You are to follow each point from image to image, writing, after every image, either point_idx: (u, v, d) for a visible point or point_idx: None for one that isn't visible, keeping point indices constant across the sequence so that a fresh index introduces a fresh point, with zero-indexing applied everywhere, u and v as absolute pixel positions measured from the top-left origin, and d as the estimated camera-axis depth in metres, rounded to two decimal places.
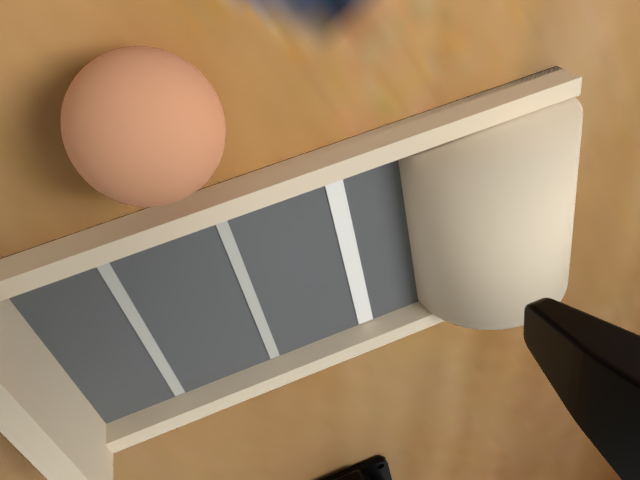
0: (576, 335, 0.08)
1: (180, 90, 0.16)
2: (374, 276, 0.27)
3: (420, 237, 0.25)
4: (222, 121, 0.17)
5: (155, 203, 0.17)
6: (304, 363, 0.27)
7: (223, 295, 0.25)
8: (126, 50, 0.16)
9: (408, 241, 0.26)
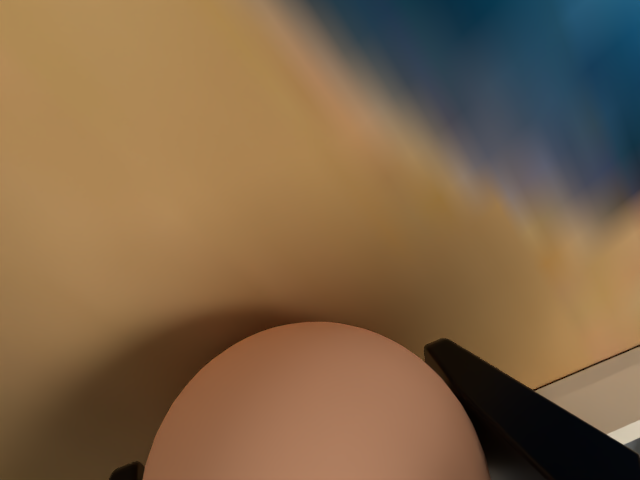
0: (462, 382, 0.08)
1: None
2: None
3: None
4: None
5: None
6: None
7: None
8: (307, 385, 0.07)
9: None
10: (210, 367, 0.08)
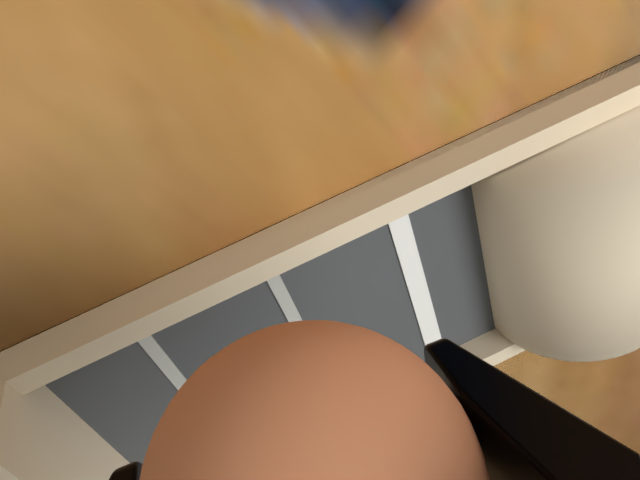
0: (463, 382, 0.08)
1: None
2: (446, 307, 0.23)
3: (500, 264, 0.21)
4: None
5: None
6: None
7: None
8: (304, 383, 0.06)
9: (483, 266, 0.23)
10: (207, 366, 0.08)
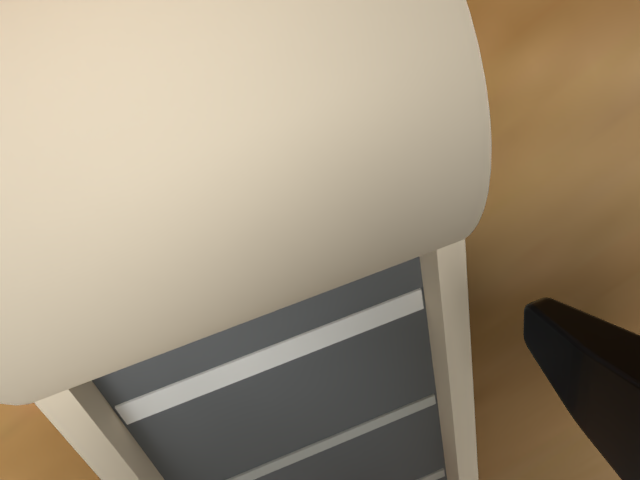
0: (576, 335, 0.08)
1: None
2: (331, 306, 0.15)
3: None
4: None
5: None
6: (449, 399, 0.18)
7: (312, 468, 0.19)
8: None
9: None
10: None
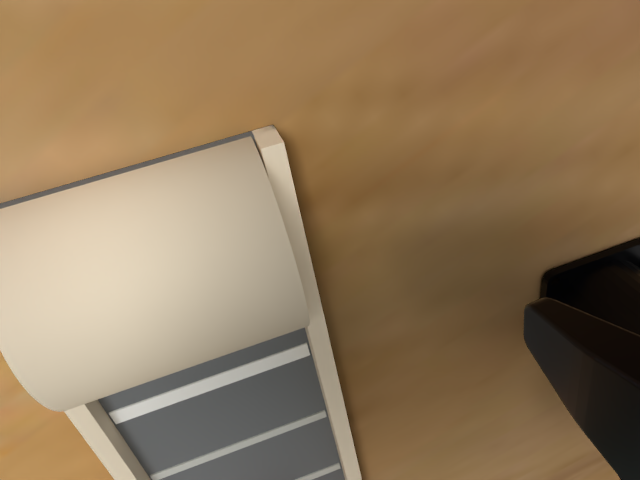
0: (576, 335, 0.08)
1: None
2: (247, 353, 0.24)
3: None
4: None
5: None
6: (329, 413, 0.27)
7: (241, 458, 0.28)
8: None
9: None
10: None
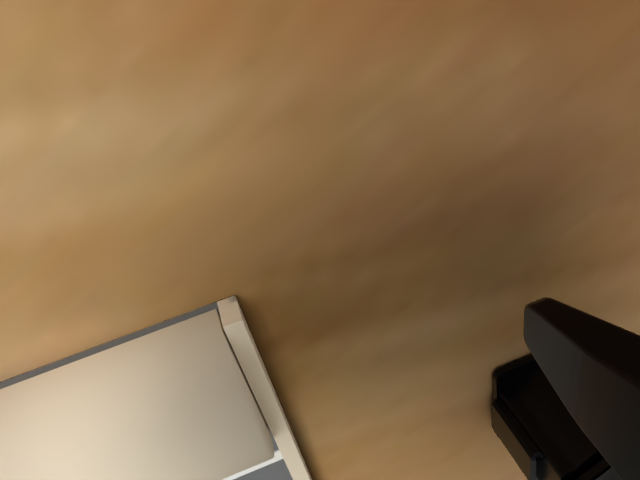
0: (576, 335, 0.08)
1: None
2: None
3: None
4: None
5: None
6: None
7: None
8: None
9: None
10: None
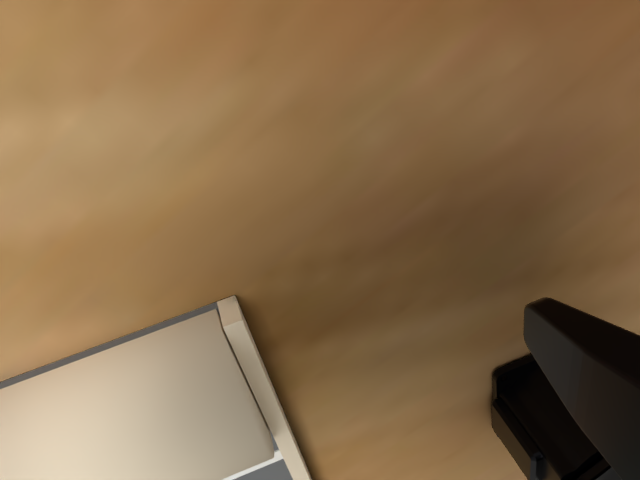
0: (576, 335, 0.08)
1: None
2: None
3: None
4: None
5: None
6: None
7: None
8: None
9: None
10: None
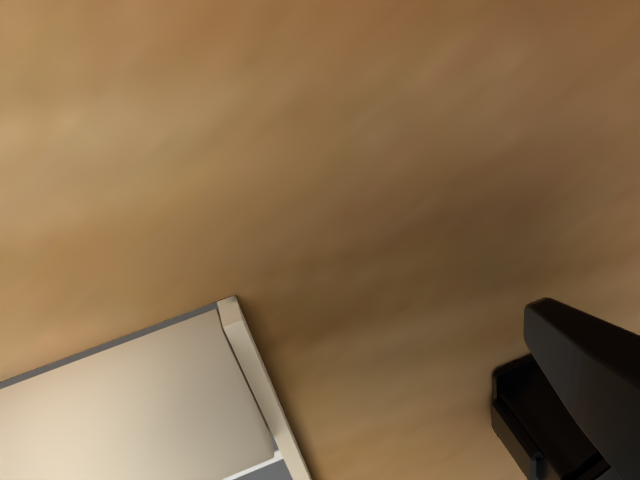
0: (576, 335, 0.08)
1: None
2: None
3: None
4: None
5: None
6: None
7: None
8: None
9: None
10: None
